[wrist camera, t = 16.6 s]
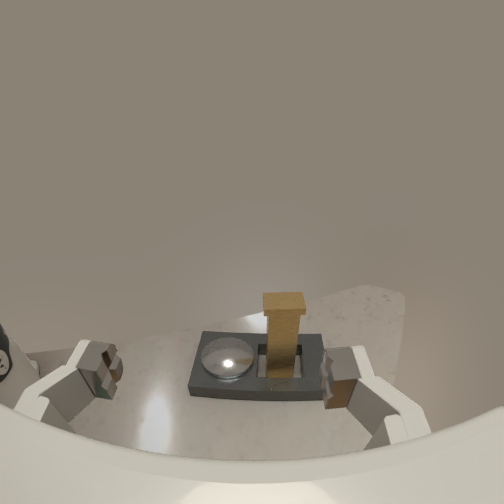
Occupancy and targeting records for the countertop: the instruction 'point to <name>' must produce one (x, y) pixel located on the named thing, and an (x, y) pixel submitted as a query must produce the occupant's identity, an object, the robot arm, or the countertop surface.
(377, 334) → the countertop surface
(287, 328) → the wedge pin
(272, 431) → the countertop surface
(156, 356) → the countertop surface
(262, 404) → the countertop surface
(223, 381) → the gray socket block
